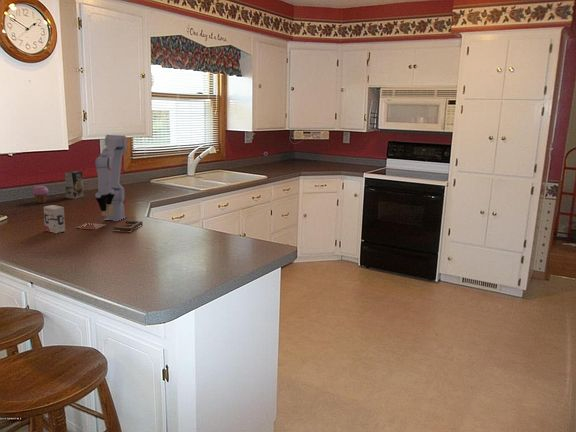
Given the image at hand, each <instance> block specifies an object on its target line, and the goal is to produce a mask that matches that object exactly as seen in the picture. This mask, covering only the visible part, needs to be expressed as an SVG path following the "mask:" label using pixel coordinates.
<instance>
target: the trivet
mask: <svg viewBox="0 0 576 432" xmlns="http://www.w3.org/2000/svg"><path fill="white" fill-rule="evenodd" d="M87 223H88V224H89V225H90V223H91V222H86V223H84V224H81V225H82V226H84V227H85V226H86V225H87ZM92 223H93V222H92ZM92 223H91V225H92ZM81 225H79V226H77V227H78V228H79V227H80V226H81ZM93 225H94V227H96V228H95V229H98V228H100V227H102V226H104V225H106V226H107V224H104V223H103V224H102V223H93ZM82 226H81V227H82ZM81 227H80V228H81ZM104 227H105V226H104ZM102 228H103V227H102ZM100 229H101V228H100ZM98 230H99V229H98Z"/></svg>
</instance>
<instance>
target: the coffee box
mask: <svg viewBox="0 0 576 432" xmlns="http://www.w3.org/2000/svg"><path fill="white" fill-rule="evenodd" d="M64 179H65V185H64V186H65V198H66V199H74V200H75V199H78V198H82V197H84V180H83V171H80V170H79V171H78V170H76V171H75V170H73V171H67V172H64Z"/></svg>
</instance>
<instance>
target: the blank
mask: <svg viewBox="0 0 576 432" xmlns="http://www.w3.org/2000/svg"><path fill="white" fill-rule="evenodd" d="M111 215H114V213H113V204H106V211H101V217H102V216H104V217H105V216H106V217H107V216H111Z"/></svg>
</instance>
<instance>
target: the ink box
mask: <svg viewBox="0 0 576 432" xmlns="http://www.w3.org/2000/svg"><path fill="white" fill-rule="evenodd" d="M43 219H44V231H45V230H46V231H50V232H54V233H58V232H63V231H65V232H66V221H65V220H66V218H65V207H64V206H59V205H55V204H51V205H46V206H43ZM46 231H45V232H46ZM50 232H49V233H50ZM54 233H53V234H54Z"/></svg>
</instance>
